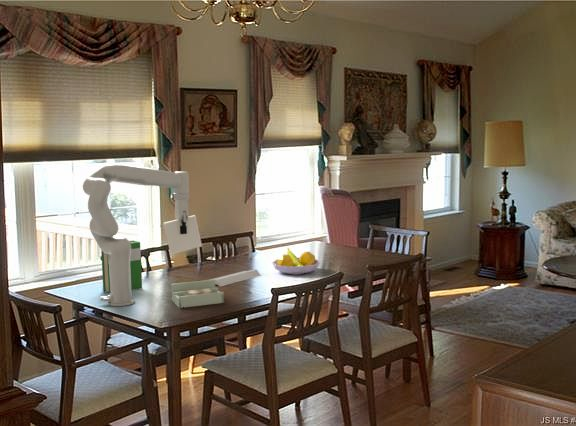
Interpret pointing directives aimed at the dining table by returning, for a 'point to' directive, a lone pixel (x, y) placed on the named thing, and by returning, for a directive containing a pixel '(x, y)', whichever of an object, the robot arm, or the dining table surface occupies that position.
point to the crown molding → (236, 277)
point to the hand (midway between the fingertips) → (182, 233)
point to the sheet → (182, 235)
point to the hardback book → (134, 267)
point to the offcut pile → (198, 292)
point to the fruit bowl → (296, 263)
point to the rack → (196, 300)
